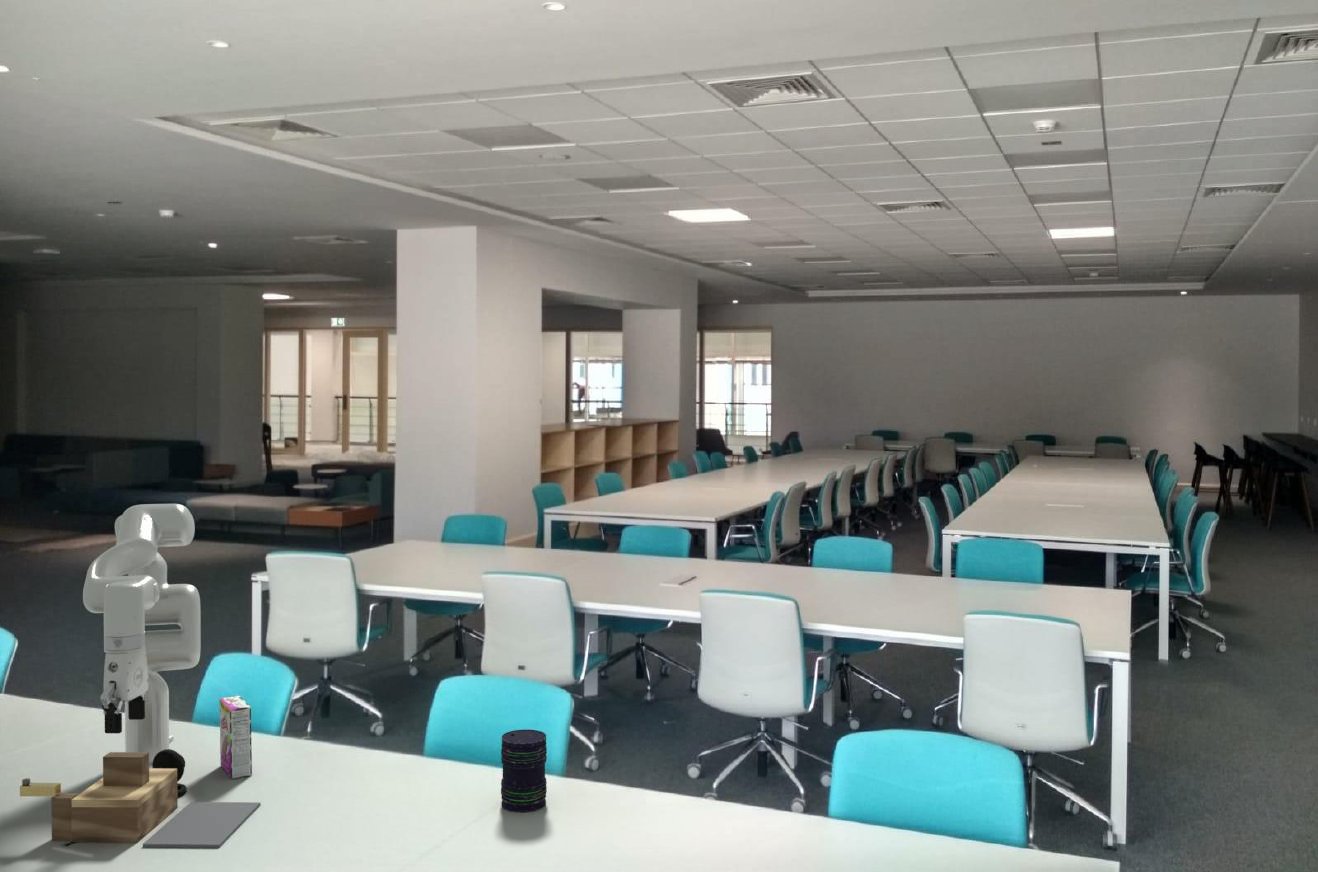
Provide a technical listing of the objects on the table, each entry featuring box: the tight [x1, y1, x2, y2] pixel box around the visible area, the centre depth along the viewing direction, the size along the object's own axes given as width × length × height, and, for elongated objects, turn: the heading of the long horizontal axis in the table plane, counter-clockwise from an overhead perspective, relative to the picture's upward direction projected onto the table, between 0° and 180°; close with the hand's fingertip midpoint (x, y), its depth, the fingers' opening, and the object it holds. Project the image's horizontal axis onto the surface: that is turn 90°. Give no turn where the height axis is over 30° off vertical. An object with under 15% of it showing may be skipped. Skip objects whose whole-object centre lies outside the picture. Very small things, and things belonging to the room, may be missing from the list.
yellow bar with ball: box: [19, 777, 62, 798], centre depth 218 cm, size 2×7×3 cm, turn 90°
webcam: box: [152, 748, 188, 798], centre depth 242 cm, size 8×8×10 cm
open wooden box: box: [50, 776, 179, 844], centre depth 225 cm, size 18×17×8 cm
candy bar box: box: [218, 695, 253, 780], centre depth 257 cm, size 11×5×16 cm, turn 34°
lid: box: [72, 751, 177, 807], centre depth 225 cm, size 18×13×8 cm
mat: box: [142, 801, 262, 849], centre depth 225 cm, size 22×15×1 cm
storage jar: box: [500, 729, 548, 814], centre depth 238 cm, size 10×10×15 cm
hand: (125, 726), depth 224 cm, fingers open, 9 cm apart
